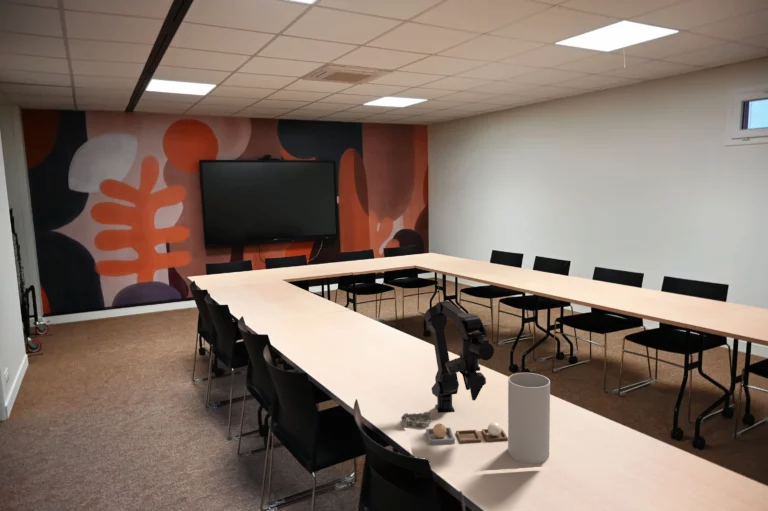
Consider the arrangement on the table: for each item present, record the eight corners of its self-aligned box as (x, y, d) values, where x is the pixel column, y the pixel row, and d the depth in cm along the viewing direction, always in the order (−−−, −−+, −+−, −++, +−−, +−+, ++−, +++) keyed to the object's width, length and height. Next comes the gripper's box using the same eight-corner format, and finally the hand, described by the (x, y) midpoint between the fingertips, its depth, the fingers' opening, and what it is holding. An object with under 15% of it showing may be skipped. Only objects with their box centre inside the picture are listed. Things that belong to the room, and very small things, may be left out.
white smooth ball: (486, 432, 172) (486, 420, 172) (499, 432, 173) (499, 419, 172) (489, 439, 168) (489, 426, 167) (503, 438, 168) (503, 425, 167)
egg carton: (433, 422, 184) (433, 412, 183) (427, 432, 177) (427, 421, 176) (405, 418, 188) (405, 408, 187) (399, 427, 181) (399, 416, 180)
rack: (455, 435, 174) (455, 430, 173) (501, 432, 174) (501, 427, 174) (460, 446, 166) (460, 441, 165) (508, 443, 166) (508, 438, 166)
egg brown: (432, 437, 172) (431, 423, 173) (445, 436, 172) (444, 422, 173) (434, 439, 168) (433, 424, 169) (448, 438, 168) (447, 423, 169)
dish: (426, 435, 174) (425, 428, 174) (450, 433, 175) (449, 427, 174) (429, 447, 166) (429, 440, 166) (454, 445, 166) (454, 439, 166)
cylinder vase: (557, 462, 155) (558, 384, 151) (521, 469, 151) (522, 390, 148) (534, 443, 166) (535, 370, 163) (500, 449, 163) (500, 375, 160)
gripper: (442, 344, 182) (443, 385, 184) (452, 361, 163) (453, 407, 165) (472, 343, 183) (473, 384, 185) (486, 360, 164) (486, 405, 166)
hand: (470, 394), depth 175 cm, fingers open, 9 cm apart
